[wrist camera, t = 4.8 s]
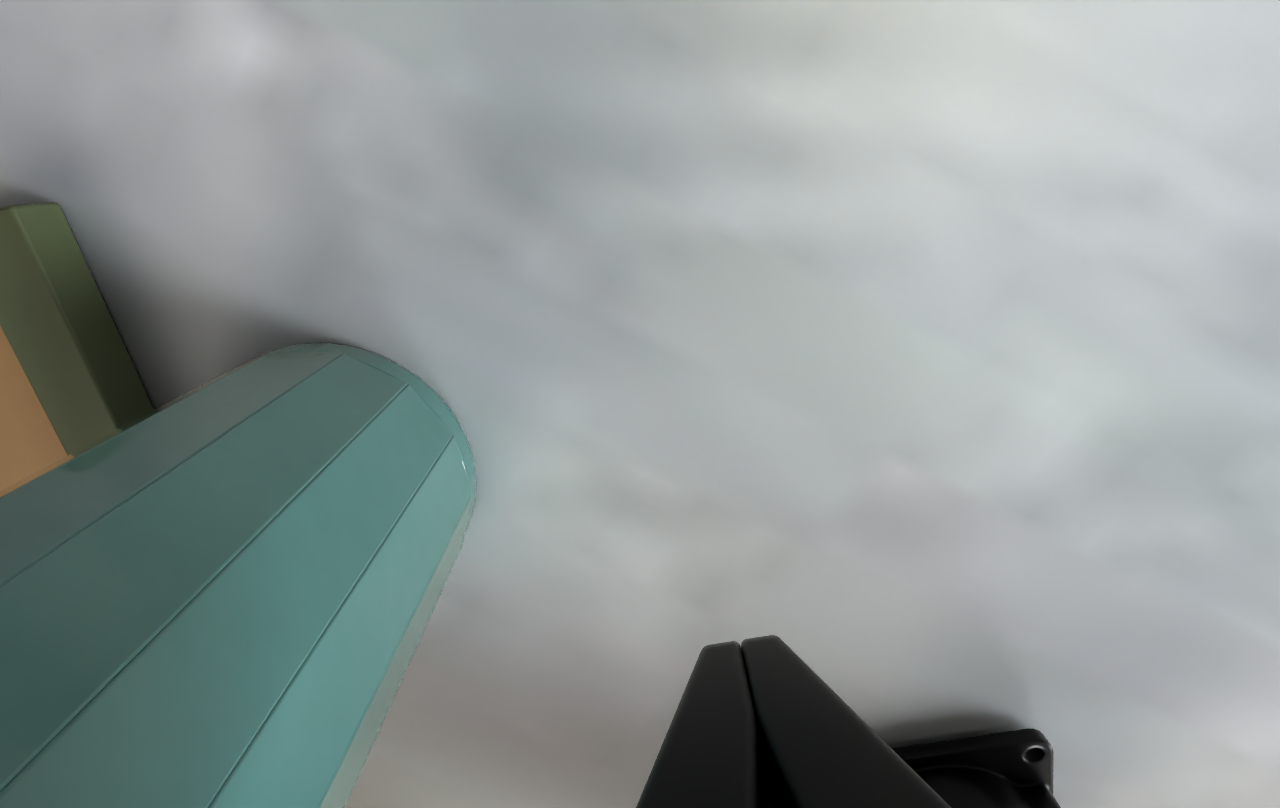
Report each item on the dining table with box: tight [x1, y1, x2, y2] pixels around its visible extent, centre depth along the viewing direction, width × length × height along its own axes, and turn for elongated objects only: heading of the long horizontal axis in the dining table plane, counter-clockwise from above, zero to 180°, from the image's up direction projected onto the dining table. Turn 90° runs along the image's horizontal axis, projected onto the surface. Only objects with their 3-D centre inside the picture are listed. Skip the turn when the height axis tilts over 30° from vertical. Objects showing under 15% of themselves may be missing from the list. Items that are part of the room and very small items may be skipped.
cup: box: [0, 343, 476, 808], centre depth 11 cm, size 6×6×11 cm
